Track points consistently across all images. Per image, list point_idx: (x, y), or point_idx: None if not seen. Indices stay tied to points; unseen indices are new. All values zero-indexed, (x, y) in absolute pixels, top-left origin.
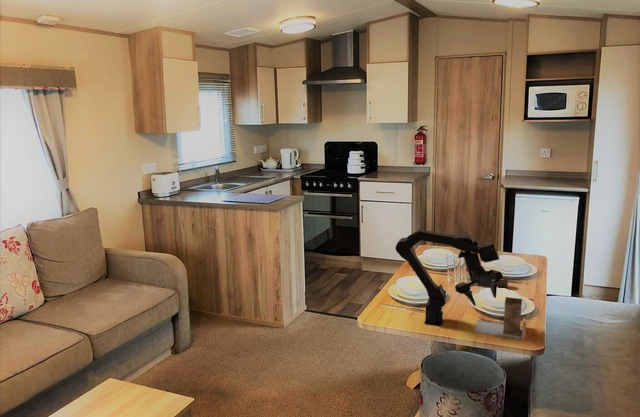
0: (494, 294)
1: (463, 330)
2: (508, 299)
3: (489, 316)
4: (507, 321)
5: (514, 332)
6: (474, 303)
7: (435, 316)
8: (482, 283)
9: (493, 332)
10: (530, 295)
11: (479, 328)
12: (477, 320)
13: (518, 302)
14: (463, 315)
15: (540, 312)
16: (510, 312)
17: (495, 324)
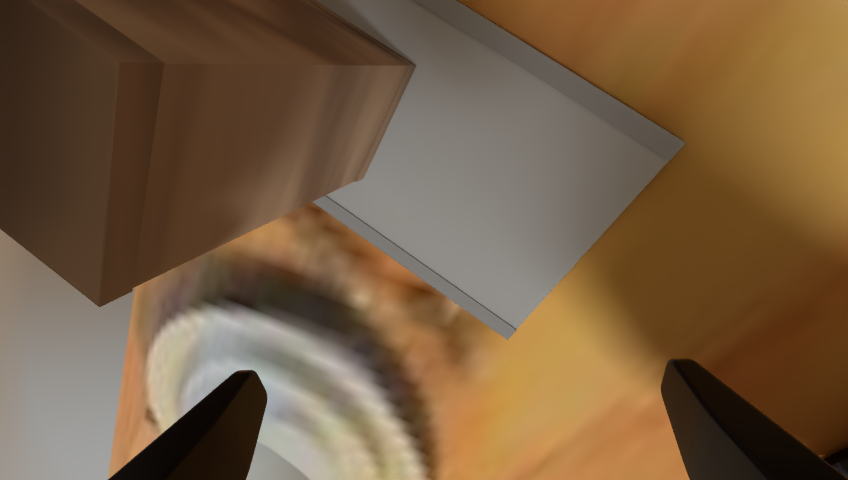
0: (213, 422)
1: (753, 226)
2: (65, 206)
3: (391, 360)
4: (322, 43)
5: (326, 14)
6: (721, 396)
7: None
8: None
9: (490, 100)
10: (147, 444)
11: (573, 207)
12: (509, 334)
13: None
14: (560, 442)
15: (133, 298)
16: (203, 15)
17: (406, 237)
